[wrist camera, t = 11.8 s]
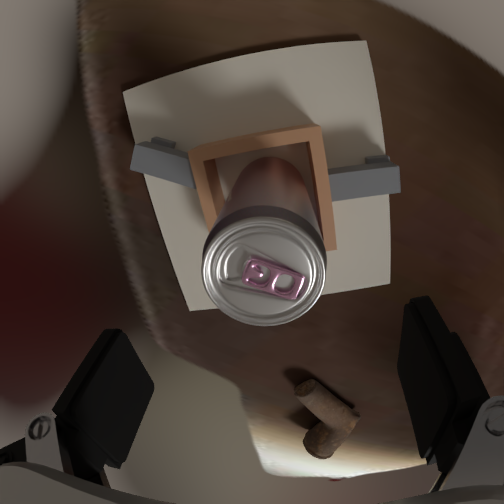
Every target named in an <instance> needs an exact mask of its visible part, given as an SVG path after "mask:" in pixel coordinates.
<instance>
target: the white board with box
mask: <svg viewBox="0 0 504 504" xmlns="http://www.w3.org/2000/svg"><path fill="white" fill-rule="evenodd" d="M123 96H124V100H125V105H126V109H127V113H128V117H129V121H130V125H131V129H132V133H133V137H134V141H135V147H134V152H133V156H132V161H131V166H130V170H134V171H137V172H140V173H144V177H145V180H146V184H147V187H148V190H149V194H150V197H151V200H152V204H153V207H154V210H155V213H156V216H157V219H158V223H159V226H160V229H161V232H162V235H163V238H164V241H165V244H166V247H167V250H168V253H169V256H170V258H171V261H172V264H173V267H174V270H175V273H176V275H177V278H178V281H179V284H180V286H181V289H182V292H183V294H184V297H185V300H186V302H187V305H188V308H189V310H190V311H194V310H204V309H214V308H218V307H217V306H216V305H215V304H214V303H213V302H212V300H211V299H210V297H209V296H208V294H207V292H206V290H205V288H204V285H203V281H202V275H201V266H202V253H203V248H204V244H205V241H206V239H207V237H208V235H209V233H210V231H211V229H212V227H213V225H214V223H215V221H216V219H217V217H218V215H219V213H220V211H221V209H222V207H223V205H224V203H225V201H226V200H227V198H228V196H229V194H230V192H231V190H232V188H233V186H234V184H235V182H236V180H237V179H238V177H239V175H240V173H241V172H242V170H243V169H244V168H245V167H246V166H247V165H248V164H249V163H251V162H252V161H254V160H257V159H259V158H263V157H277V158H281V159H284V160H286V161H288V162H289V163H291V164H292V165H293V166H295V167H296V168H297V170H298V171H299V172H300V174H301V176H302V178H303V180H304V183H305V186H306V189H307V192H308V195H309V198H310V201H311V204H312V207H313V210H314V214H315V217H316V220H317V223H318V226H319V229H320V233H321V236H322V239H323V242H324V246H325V249H326V254H327V269H326V279H325V284H324V288H323V291H322V293H321V295H323V294H330V293H336V292H343V291H349V290H355V289H361V288H367V287H373V286H379V285H385V284H390V209H389V194H393V193H401V190H400V173H399V166H398V165H396V164H394V163H392V162H390V157H389V156H387V155H385V145H384V137H383V129H382V122H381V115H380V108H379V102H378V96H377V90H376V84H375V79H374V74H373V69H372V64H371V59H370V55H369V50H368V46H367V42H366V41H346V42H332V43H320V44H311V45H302V46H294V47H287V48H281V49H274V50H268V51H263V52H257V53H252V54H247V55H242V56H238V57H233V58H229V59H225V60H221V61H217V62H213V63H209V64H205V65H201V66H198V67H194V68H191V69H187V70H184V71H181V72H177V73H174V74H171V75H168V76H165V77H162V78H159V79H156V80H153V81H150V82H148V83H145V84H142V85H139V86H137V87H134V88H132V89H129V90H126V91H124V92H123Z"/></svg>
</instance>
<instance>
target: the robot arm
mask: <svg viewBox="0 0 504 504" xmlns="http://www.w3.org/2000/svg"><path fill="white" fill-rule="evenodd" d="M397 369H398V375H399V378H400V381H401V385H402V388H403V392H404V395H405V399H406V402H407V406H408V410H409V413H410V417H411V421H412V425H413V429H414V433H415V437H416V441H417V446H418V450H419V454H420V457H421V458H426V461H427V465H430V464H433V463H437V466H438V470H439V471H440V472H441V473H440V475H439V476H438V478H437V480H436V482H435V483H434V485H433V487H432V488H431V490H430V492H429V493H428V494H424V495H419V496H414V497H409V498H404V499H400V500H395V501H390V502H385V503H379V504H504V396H495V397H492V398H490V396H489V394H488V392H487V390H486V388H485V386H484V384H483V382H482V379H481V377H480V375H479V373H478V371H477V369H476V367H475V365H474V364H473V362H472V360H471V358H470V356H469V354H468V352H467V350H466V348H465V347H464V345H463V343H462V341H461V339H460V337H459V336H458V335H457V333H455V332H451V333H450V332H449V330H448V328H447V326H446V324H445V323H444V321H443V319H442V317H441V316H440V314H439V312H438V310H437V309H436V307H435V305H434V304H433V302H432V300H431V299H430V297H429V296H422V297H416V298H411V299H410V302H409V304H406V305H405V306H404V316H403V325H402V334H401V342H400V350H399V357H398V364H397ZM153 392H154V383H153V381H152V380H151V378H150V376H149V374H148V372H147V371H146V369H145V367H144V366H143V364H142V362H141V360H140V359H139V357H138V355H137V353H136V352H135V350H134V348H133V346H132V344H131V342H130V341H129V339H128V337H127V335H126V334H125V333H123V332H122V330H120V329H105V330H104V331H103V332H102V334H101V335H100V336H99V338H98V339H97V341H96V342H95V344H94V345H93V347H92V348H91V349H90V351H89V352H88V354H87V355H86V357H85V359H84V360H83V362H82V363H81V365H80V366H79V367H78V369H77V371H76V372H75V374H74V375H73V377H72V378H71V380H70V382H69V383H68V385H67V386H66V388H65V389H64V391H63V393H62V394H61V396H60V397H59V399H58V401H57V402H56V404H55V406H54V407H53V409H52V411H53V412H54V413H55V414H56V415H57V416H56V418H54V417H53V416H52V415H51V414H49V413H41V414H38V415H36V416H34V417H33V418H32V419H31V420H30V421H29V423H28V424H27V427H26V430H25V437H24V438H22V439H21V440H18V441H16V442H14V443H12V444H10V445H8V446H5V447H3V448H2V449H0V504H174V503H169V502H163V501H158V500H154V499H149V498H144V497H141V496H137V495H132V494H129V493H125V492H121V491H118V490H114V489H111V487H110V485H109V482H108V479H107V476H106V474H105V471H104V468H103V467H104V464H107V465H108V466H110V467H114V468H118V469H120V467H121V464H122V463H123V462H125V460H126V458H127V456H128V453H129V451H130V448H131V446H132V443H133V441H134V438H135V436H136V433H137V431H138V428H139V426H140V423H141V421H142V418H143V416H144V414H145V411H146V409H147V406H148V404H149V401H150V399H151V397H152V394H153Z"/></svg>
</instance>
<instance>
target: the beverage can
mask: <svg viewBox="0 0 504 504" xmlns="http://www.w3.org/2000/svg"><path fill="white" fill-rule="evenodd" d="M326 269H327V254H326V249H325V246H324V242H323V239H322V236H321V233H320V229H319V226H318V223H317V220H316V217H315V214H314V210H313V207H312V204H311V201H310V198H309V195H308V192H307V189H306V186H305V183H304V180H303V178H302V176H301V174H300V172H299V171H298V170H297V168H296V167H295V166H293V165H292V164H291V163H289V162H288V161H286V160H284V159H281V158H277V157H263V158H259V159H257V160H254V161H252V162H251V163H249V164H248V165H247V166H246V167H245V168H244V169H243V170H242V172H241V173H240V175H239V177H238V179H237V180H236V182H235V184H234V186H233V188H232V190H231V192H230V194H229V196H228V198H227V200H226V201H225V203H224V205H223V207H222V209H221V211H220V213H219V215H218V217H217V219H216V221H215V223H214V225H213V227H212V229H211V231H210V233H209V235H208V237H207V239H206V241H205V244H204V248H203V253H202V266H201V275H202V281H203V285H204V288H205V290H206V292H207V294H208V296H209V297H210V299H211V300H212V302H213V303H214V304H215V305H216V306H217V307H218V308H219V309H220V310H221V311H222V312H224V313H225V314H227V315H228V316H230V317H231V318H233V319H235V320H238V321H240V322H243V323H247V324H251V325H257V326H273V325H279V324H283V323H287V322H290V321H292V320H294V319H296V318H298V317H300V316H301V315H303V314H304V313H306V312H307V311H308V310H309V309H310V308H311V307H312V306H313V305H314V304H315V303H316V301H317V300H318V298H319V297H320V295H321V293H322V291H323V288H324V284H325V279H326Z"/></svg>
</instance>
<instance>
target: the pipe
mask: <svg viewBox="0 0 504 504" xmlns="http://www.w3.org/2000/svg"><path fill="white" fill-rule="evenodd" d="M294 394H295V396H296V397H297V398H298V399H299V400H300V401H301V402H302V403H303V404H304V405H305V406H306V407H307V408H308V409H309V410H310V411H311V412H312V413H313V414H314V415H315V416H316V417H318V418H319V419H320V420H321V421H320V422H319V423H318V424H316V425H315V426H314V427H313V428H312V429H310V430H309V431H308V432H307V433H306V434H305V437H304V439H303V444H304V446H305V449H306V450H307V452H308V453H309V454H311V455H312V456H314V457H316V458H318V459H327V458H330V457H331V456H332V455H333V453H334V451H335V450H336V449H337V448H338V447H339V446H340V445H341V444H342V443H343V442H344V441H345V439H346V438H347V437H348V435H349V434H350V433H351V431H352V429H353V428H354V427H355V425H356V423H357V422H358V421H359V419H360V417H361V416H360V413H359V412H356V411H354V410H352V409H351V408H350V407H349V406H347V405H346V404H344V403H343V402H342V401H340V400H339V399H338V398H336V397H335V396H334V395H333V394H332V393H331V392H329V391H328V390H327V389H326V388H325V387H323V386H322V385H321V384H320V383H319V382H317V381H316V380H314V379H309V380H307V381H304V382H303V383H302V384H300V385H298V386H296V387H295V389H294Z"/></svg>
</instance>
